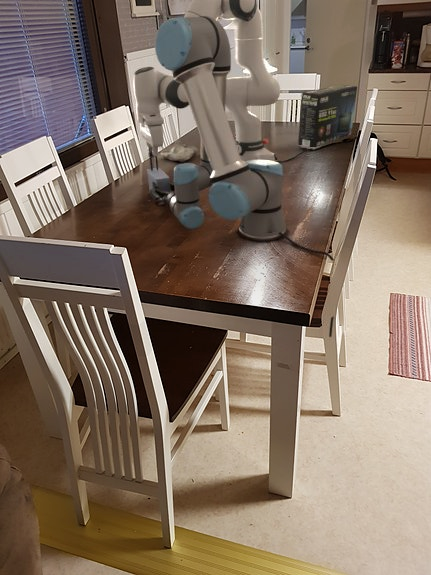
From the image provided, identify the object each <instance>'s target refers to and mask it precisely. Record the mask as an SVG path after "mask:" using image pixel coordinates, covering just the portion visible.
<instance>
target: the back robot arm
mask: <svg viewBox="0 0 431 575" xmlns="http://www.w3.org/2000/svg"><path fill="white" fill-rule="evenodd" d="M257 4H258V2H257V0H191V2H190V3H189V6H188V7H187V9H186V11H185V13H184V16H183V17H200V16H208V17H212V18H214V19H215V20H217V21H218V20H226V21H231V22H232V23H233V26H234V32H233V35H234V36H233V37H234V44H233V45H234V46H233V47H234V61H235V62H236V64H237V65H238V66H239V67H241V68H243V69H245V70H247V71H248V73H249V76H243V77H242V76H239V77H235V76H234V77H229V78H228V77H227V83H226V106H225V108H227V110H228V111H229V112H230V114H231V115H232V118H233V121H234V129H235V130H234V132H235V134H236V139H234V140H235V143H236V146H237V149H238V152H239V155H240V158H241V160H242V161H244V162H246V161H249V160H270V161H275V162H278V163H280V164H281V163H285V162H286V163H287V162H288V161H292V160H293V159H296V158H298V156H300V155H302V154H304V153H305V152H307V151H310V149H308V150H307V149H303V150H304V151H303V150H301V151H300V152H301V153H300V152H298V153H299V154H298V153H296V156H295V155H294V156H295V157H294V156H292V157H289V158H287V159H285V160H278V157H277V156H276V153H273V152H271V151H270V150H268V149H267V148H266V147H265V145H268V144H269V140H268V139H267V138H263V139H262V121H261V119H260V117H258V116H257V115H255V114H253V113H251V112H250V111H249V109H248V107H265V106H270V105H273V104H275V103H277V101H278V100H279V98H280V94H281V86H280V83H279V81H278V80H277V79H276V78H275V77H274V76H273V75H272V74H271V72H269V70H268V69H267V67H266V64H265V60H264V46H263V44H264V42H263V39H264V38H263V37H264V35H263V34H264V33H263V32H264V31H263V30H264V29H263V21H262V19H263V18H262V13H261V11H260V9H259V8H258V5H257ZM133 95H134V98H135V102H136V103H135V110H136V119H137V123H139V129H140V136H141V138H142V139H144V140H145V143H146V147H147V152H152V155H153V156H157V157H158V156H159V148H160V147H163V145H164V128H163V125H164V124H165V122H164V118H163V115H162V112H161V105H162V104H165V105H168V106H171V107H174V108H175V109H179V110H182V109H185V108H187V107H189V106H190V105H189V102H188V99H187V97H186V94H185V91H184V88H183V85H182V84H180V83H178V82H176V81H175V80H174V77H173V75H169V74H166V73H163V72H161V71H159V70H157V69H156V68H155V67H153V66H145V67H141V68H138V69H137V70H135V72H134V73H133ZM355 139H358V136H357V137H356V138H355ZM264 144H265V145H264ZM276 160H278V161H276Z"/></svg>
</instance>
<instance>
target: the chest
mask: <svg viewBox="0 0 431 575" xmlns="http://www.w3.org/2000/svg"><path fill="white" fill-rule="evenodd" d="M146 173H147V172H146ZM170 181H171V180H170ZM170 181H164V182H158V183H156V182H155V180H154V179H153V178H152V177H151V176H150V175H149V174H148V173H147V182H148V189H149V190H148V191H149V192H150V189H152V187H153V185H152V182H155V184H156V185H157V186H158V187H159V189H160V190H162V191H164V192H166V191H167V192H169V193H171V192H172V191H171V188H170ZM161 199H162V198H161ZM158 205H159V206H160V205H161V206H162V205H165V204H164V203H163V202H161V203H159V204H158Z"/></svg>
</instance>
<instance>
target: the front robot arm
mask: <svg viewBox="0 0 431 575" xmlns="http://www.w3.org/2000/svg"><path fill="white" fill-rule="evenodd" d="M154 40H155V41H154V49H155V50H154V51H155V56H156V59H157V60H158V63H159V64H160V65H161V66H162V67H163V68H164V69H166V70H168V71H171V74H172V76H173V77H174V80H175V81H176V82H178V83H180V84H182V85H183V88H184V91H185V94H186V97H187V99H188V102H189V105H188V106H189V108H190V110H191V113H192V116H193V119H194V122H195V125H196V127H197V130H198V133H199V136H200V156H199V157H200V158H199V159H200V160H199V161H200V162H199V165H196V164H194V163H191V162H183V163H179V164H176V165H175V166H174V167H173V182H172V180H170V188H171V193H169V192H167V191H166V192H164V191H162V190H160V189H159V187H158V186H157V185H156V184H155V182H152V185H153V187H152V189H150V191H149V195H150V198H151V199H152V200H153V201H154V202H155V205H159V203H161V202H163V203H164V204H163V205H166V207H167V208H168V209H169V211H170V212H171V213H172V214H173V216H175V217H176V218H177V220H178V221H179V223H180V224H181V225H182V226H184V227H185V228H186V229H188V230H195V229H198V228H199V227H201V226H202V225H203V223H204V221H205V213H204V212H203V210H202V209H201V205H200V192H201V191H203V190H205V189H207V188H209V190H208V191H209V193H208V195H207V196H208V201H209V204H210V207H211V209H212V211H214V213H215V214H216V215H218V216H219V217H221V218H222V219H225V220H227V221H236V220H238V219H240V218H241V220H240V222H239V226H238V232H239V235H240V236H241V237H242V238H244V239H247V240H250V241H254V242H271V241H277V240H279V239H281V238H284V239H286V241H288V242H289V243H291V244H292V245H293V246H296V247H297V248H299V249H302V250H304V251H307V252H310V253H313V254H320V255H325V256H327V257H328V258H329V259H330V260H331V261H335V258H334V257H333V256H332V255H331V254H330V253H329V252H327V251H323V250H315V249H311V248H309V247H306V246H303V245H301V244H299V243H297V242H295V241H294V240H292V239H291V238H290V237H288V236H287V235H286V234H287V223H286V221H285V216H284V214H283V210H282V200H283V183H284V169H283V165H282V164H281V163H278V162H276V160H275V161H270V160H249V161H246V162H244V161H242V160H241V158H240V155H239V152H238V149H237V146H236V143H235V139H234V137H233V134H234V133H233V132H232V129H231V126H230V122H229V120H228V116H227V113H226V83H227V79H228V74H230V72H231V70H232V69H231V68H232V50H231V44H230V39H229V37H228V34H227V31H226V29H225V28H224V26H223V25H222V24H221V23H220V22H219V21H218V20H215V19H214V18H212V17H208V16H200V17H184V16H176V17H173V18H168V19H165V21H164V22H162V23H161V25H160V26H159V27H158V29H157V32H156V37H155V39H154ZM161 198H162V199H161ZM334 318H335V316H334V315H333V316H332V317H330V324H329V330H328V331H329V332H328V337H329V338H332V336H333V325H334Z"/></svg>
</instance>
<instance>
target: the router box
mask: <svg viewBox="0 0 431 575" xmlns="http://www.w3.org/2000/svg"><path fill="white" fill-rule="evenodd" d="M357 93H358V86H356V85H350V84H339V85H338V84H337V85H334V86H328V87H324V88H318V89H314V90H309V91H304V92H301V93H300V109H299V110H300V111H299V124H298V137H297V146H298V145H302V146H307V147H317V146H320V145H323V144H325V143H328V142H331V141H333V140H336V139H338V138H341V137H344V136H347V135H351V136H352V133H353V132H352V131H353V125H354V115H355V109H356V99H357ZM311 151H313V150H312V149H311Z"/></svg>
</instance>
